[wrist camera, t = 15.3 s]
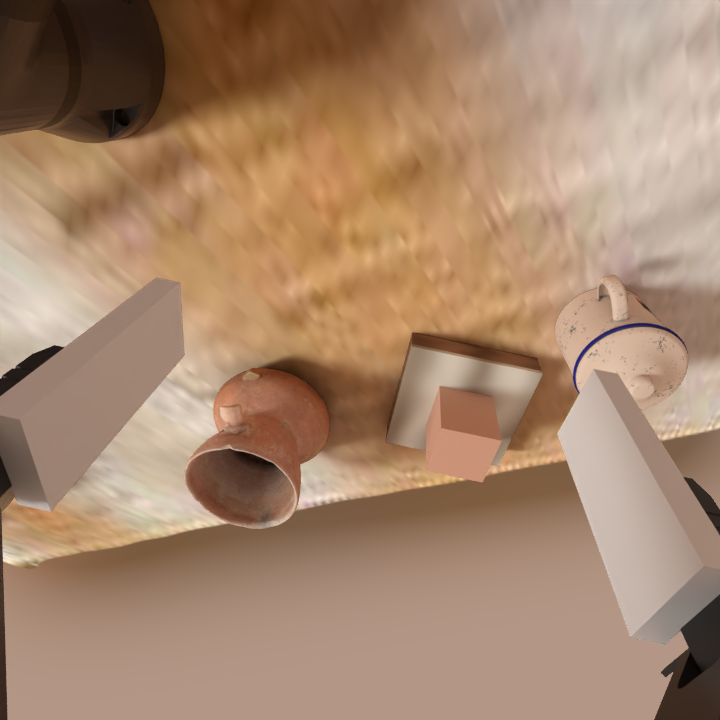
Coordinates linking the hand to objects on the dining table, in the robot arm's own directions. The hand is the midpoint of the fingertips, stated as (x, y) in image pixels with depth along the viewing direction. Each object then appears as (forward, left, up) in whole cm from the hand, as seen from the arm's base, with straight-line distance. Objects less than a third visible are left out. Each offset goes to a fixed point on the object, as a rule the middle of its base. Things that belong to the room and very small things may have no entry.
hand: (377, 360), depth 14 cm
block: (+11, -23, -29) cm, 39 cm away
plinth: (+11, -23, -32) cm, 41 cm away
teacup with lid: (+22, -9, -32) cm, 40 cm away
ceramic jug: (-10, -31, -32) cm, 46 cm away
